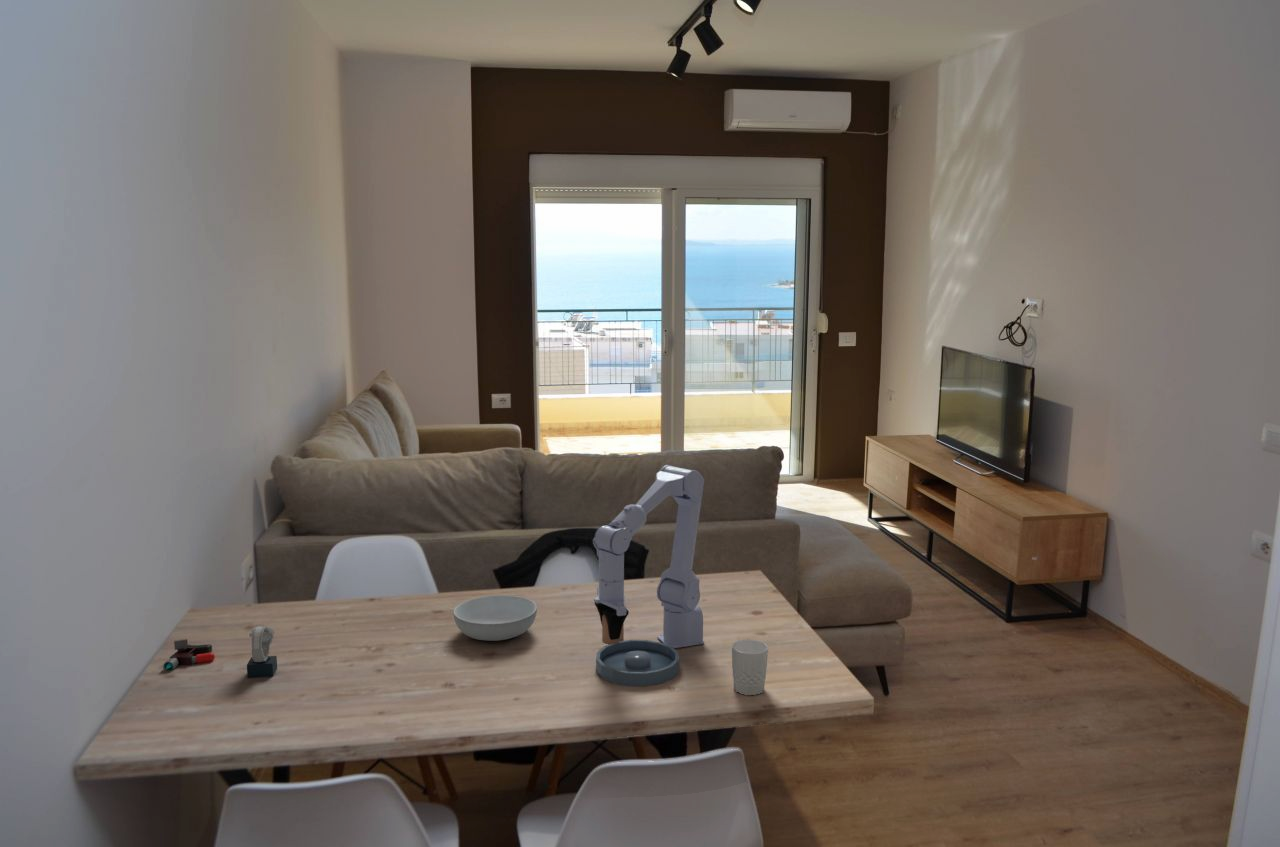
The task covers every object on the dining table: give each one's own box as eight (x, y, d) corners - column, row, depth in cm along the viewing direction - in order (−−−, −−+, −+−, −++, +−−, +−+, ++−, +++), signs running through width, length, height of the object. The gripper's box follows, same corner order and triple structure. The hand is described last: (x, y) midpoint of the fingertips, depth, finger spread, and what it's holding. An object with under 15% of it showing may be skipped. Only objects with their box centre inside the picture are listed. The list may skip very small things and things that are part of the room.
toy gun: (159, 673, 218) (157, 653, 217) (185, 652, 230) (183, 633, 229) (201, 674, 218) (199, 654, 217) (224, 653, 229) (223, 634, 229)
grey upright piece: (279, 665, 222) (276, 620, 220) (271, 679, 214) (268, 633, 212) (253, 666, 221) (250, 621, 219) (245, 681, 213) (242, 634, 211)
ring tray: (659, 647, 233) (659, 635, 233) (691, 678, 216) (692, 665, 215) (585, 658, 226) (585, 646, 226) (612, 691, 209) (612, 678, 208)
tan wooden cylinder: (616, 636, 222) (616, 612, 221) (622, 643, 218) (622, 618, 217) (599, 639, 220) (599, 614, 219) (605, 645, 216) (605, 620, 215)
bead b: (620, 640, 237) (620, 617, 236) (625, 646, 234) (625, 622, 233) (605, 642, 236) (605, 619, 235) (610, 648, 232) (610, 625, 231)
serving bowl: (527, 615, 254) (527, 590, 253) (545, 644, 235) (545, 618, 233) (449, 624, 248) (448, 598, 247) (460, 655, 228) (459, 628, 227)
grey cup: (743, 700, 205) (744, 656, 204) (724, 685, 212) (725, 643, 211) (774, 692, 209) (775, 649, 207) (753, 678, 216) (754, 636, 214)
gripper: (584, 570, 222) (585, 626, 224) (605, 590, 208) (605, 649, 211) (613, 567, 224) (613, 622, 226) (635, 586, 211) (634, 645, 213)
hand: (611, 635), depth 219 cm, fingers closed on tan wooden cylinder, 4 cm apart
